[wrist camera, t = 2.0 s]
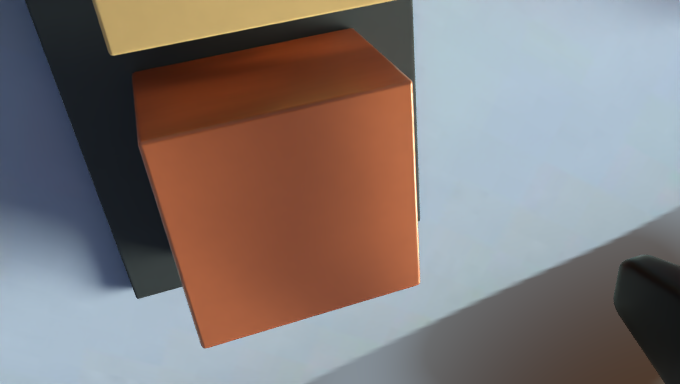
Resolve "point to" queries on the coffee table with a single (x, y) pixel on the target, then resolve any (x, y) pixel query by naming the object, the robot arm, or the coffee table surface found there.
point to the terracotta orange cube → (282, 179)
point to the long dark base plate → (166, 49)
